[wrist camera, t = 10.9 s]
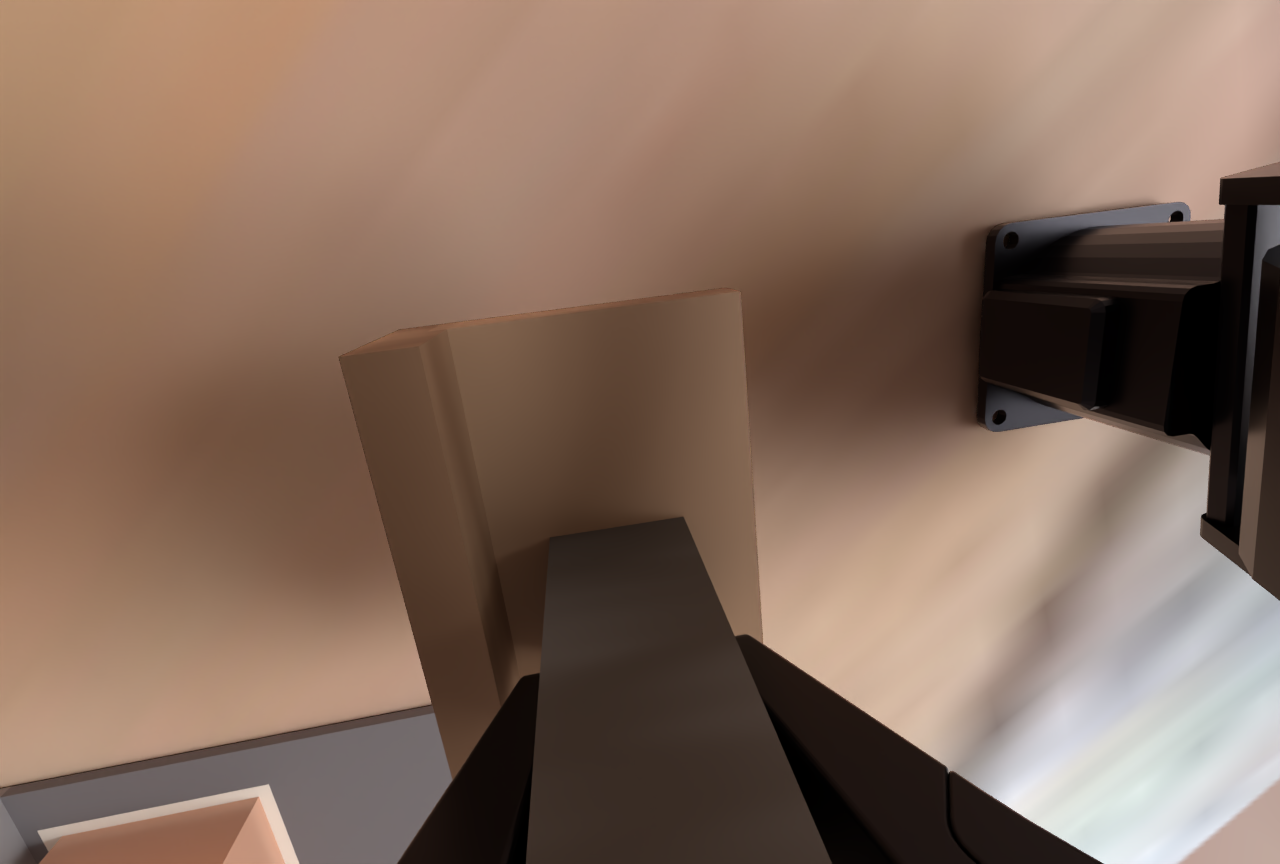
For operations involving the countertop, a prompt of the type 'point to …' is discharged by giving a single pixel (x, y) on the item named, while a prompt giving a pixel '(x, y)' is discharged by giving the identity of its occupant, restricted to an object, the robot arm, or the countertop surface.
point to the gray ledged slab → (259, 791)
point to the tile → (178, 839)
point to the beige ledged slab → (590, 567)
